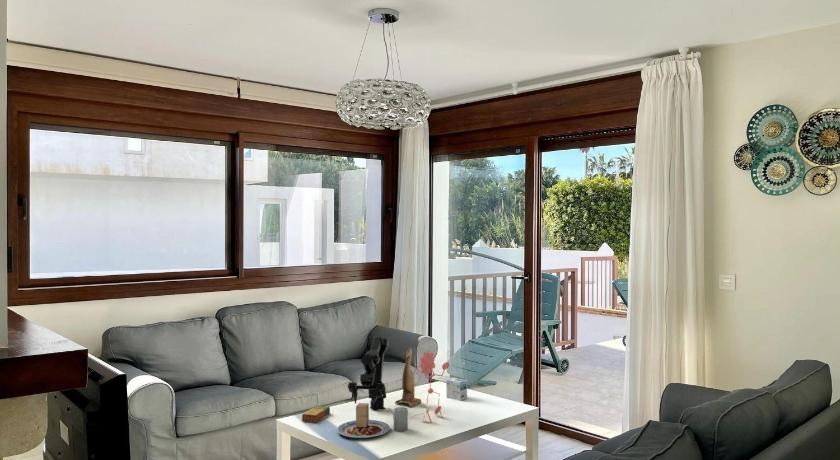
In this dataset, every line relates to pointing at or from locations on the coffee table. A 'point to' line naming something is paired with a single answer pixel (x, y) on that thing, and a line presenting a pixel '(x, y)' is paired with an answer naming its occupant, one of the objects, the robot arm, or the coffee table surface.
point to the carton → (316, 414)
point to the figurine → (427, 366)
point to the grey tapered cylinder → (400, 419)
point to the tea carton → (362, 414)
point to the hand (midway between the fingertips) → (364, 402)
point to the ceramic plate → (363, 429)
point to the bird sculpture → (408, 383)
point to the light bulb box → (456, 389)
